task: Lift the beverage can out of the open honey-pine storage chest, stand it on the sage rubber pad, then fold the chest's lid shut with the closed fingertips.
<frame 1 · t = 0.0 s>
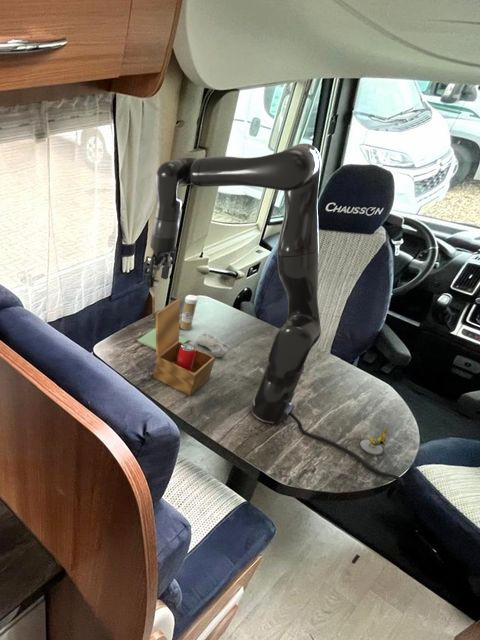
hand: (157, 282, 143), 29 cm above the table, tool pointing down, fingers open, 8 cm apart
decorative stone: (209, 350, 165), on the table
figurine: (371, 447, 127), on the table
chest lid: (167, 327, 146), point 16 cm above the table, hinge at 100.0°
beverage can: (181, 376, 151), resting on chest
pad: (163, 341, 169), on the table
chest: (181, 377, 152), on the table
sprinkles bottle: (185, 327, 177), on the table
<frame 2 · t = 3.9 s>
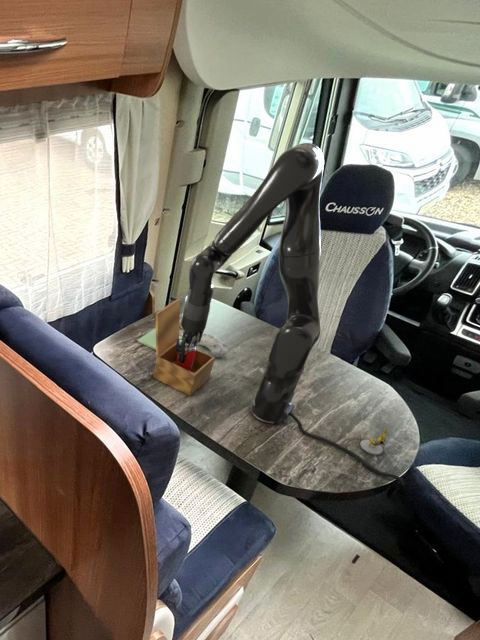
hand: (185, 358, 147), 8 cm above the table, tool pointing down, fingers closed on beverage can, 5 cm apart
beverage can: (181, 376, 151), resting on chest, touching gripper
everything else where it was.
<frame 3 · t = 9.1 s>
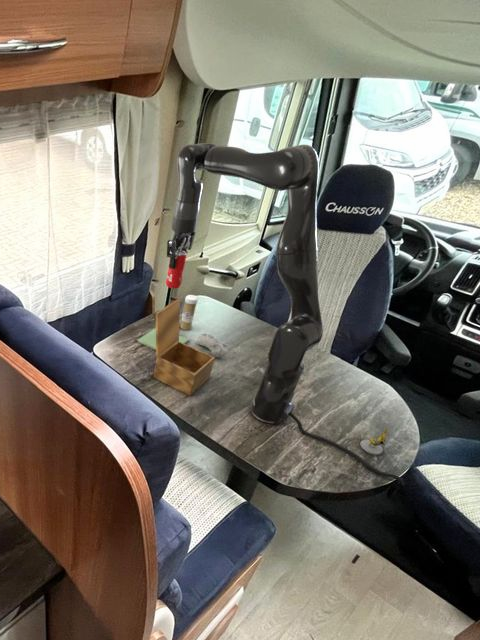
hand: (176, 265, 150), 31 cm above the table, tool pointing down, fingers closed on beverage can, 5 cm apart
beverage can: (173, 286, 155), point 23 cm above the table, touching gripper
everything else where it was.
when the fingers open (8 cm above the table, at t = 14.3 s): beverage can stays where it is, resting on pad.
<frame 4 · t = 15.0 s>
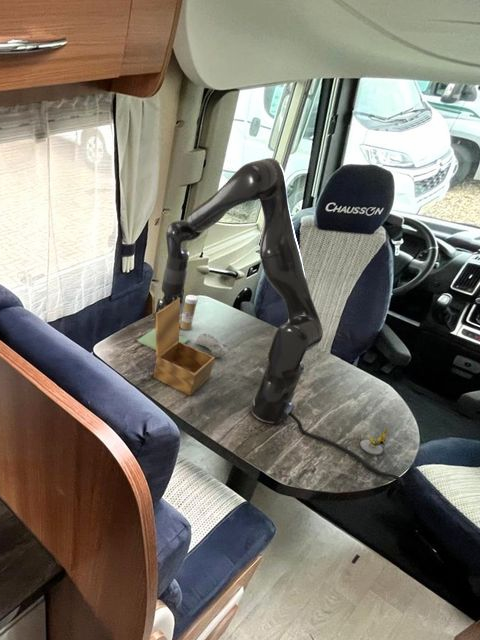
hand: (167, 319, 163), 10 cm above the table, tool pointing down, fingers open, 8 cm apart
beverage can: (163, 340, 169), point 1 cm above the table, touching pad
everything else where it was.
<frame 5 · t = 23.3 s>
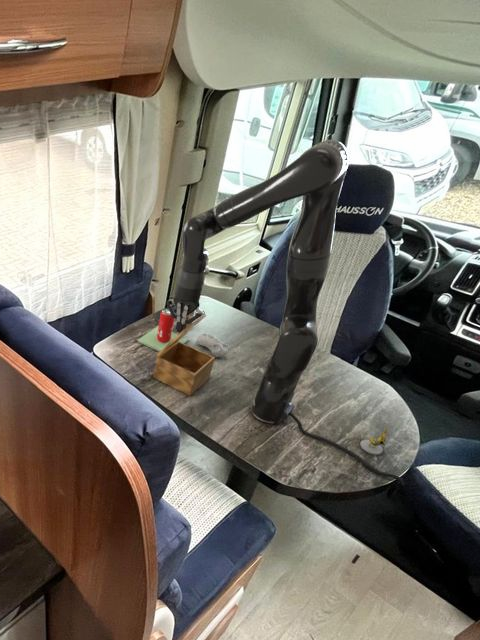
hand: (180, 331, 143), 17 cm above the table, tool pointing down, fingers closed
chest lid: (181, 335, 144), point 16 cm above the table, hinge at 59.7°, touching gripper
everything else where it was.
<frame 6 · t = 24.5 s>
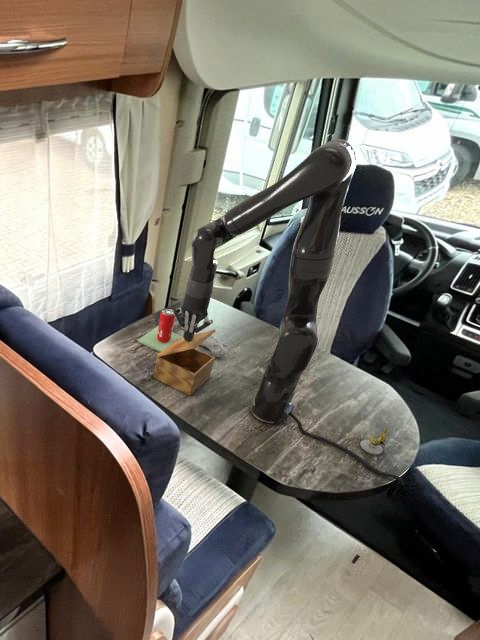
hand: (187, 340, 143), 15 cm above the table, tool pointing down, fingers closed
chest lid: (185, 343, 144), point 14 cm above the table, hinge at 37.1°, touching gripper
everything else where it was.
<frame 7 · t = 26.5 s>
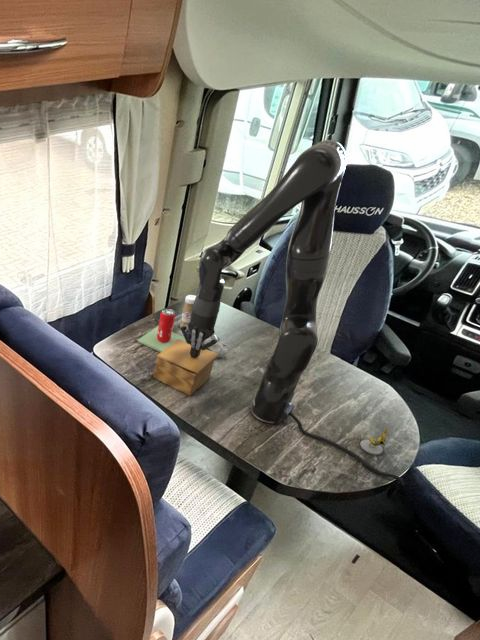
hand: (194, 356, 144), 10 cm above the table, tool pointing down, fingers closed
chest lid: (187, 355, 145), point 10 cm above the table, hinge at 3.4°, touching gripper
everything else where it was.
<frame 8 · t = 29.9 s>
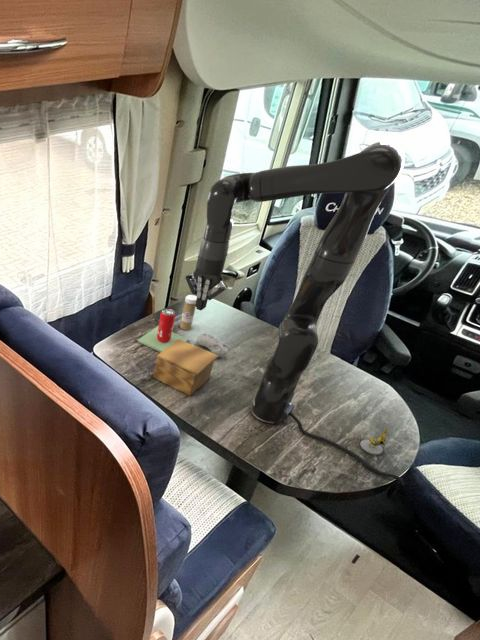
hand: (200, 308, 134), 27 cm above the table, tool pointing down, fingers closed
chest lid: (187, 356, 146), point 9 cm above the table, hinge at 1.4°
everything else where it was.
at the end: beverage can inside the target area on the pad (0.1 cm from its centre), point 0.6 cm above the pad's base; beverage can tilted 0°; chest lid at +1° (first picture: +100°) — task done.
